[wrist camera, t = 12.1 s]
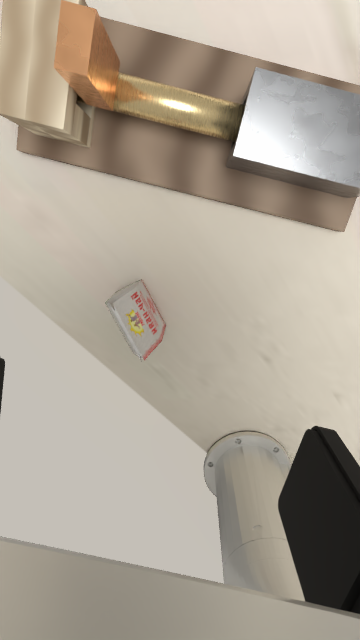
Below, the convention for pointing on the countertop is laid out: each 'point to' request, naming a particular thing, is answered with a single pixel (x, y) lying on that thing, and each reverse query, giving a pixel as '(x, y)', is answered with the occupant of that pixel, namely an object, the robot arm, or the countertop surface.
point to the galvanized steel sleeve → (299, 134)
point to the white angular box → (137, 318)
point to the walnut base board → (184, 145)
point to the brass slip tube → (131, 81)
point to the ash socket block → (39, 74)
